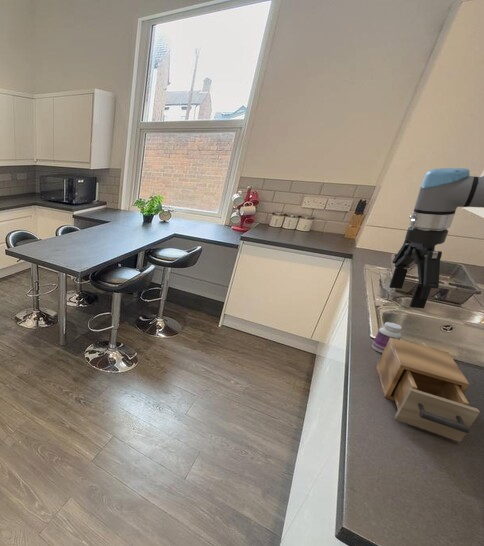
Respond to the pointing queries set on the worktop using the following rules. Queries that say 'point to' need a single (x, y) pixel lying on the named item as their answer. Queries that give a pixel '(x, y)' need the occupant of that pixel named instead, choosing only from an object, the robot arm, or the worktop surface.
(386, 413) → the worktop surface
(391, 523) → the worktop surface
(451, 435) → the drawer
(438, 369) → the cabinet
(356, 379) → the worktop surface
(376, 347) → the pill bottle
